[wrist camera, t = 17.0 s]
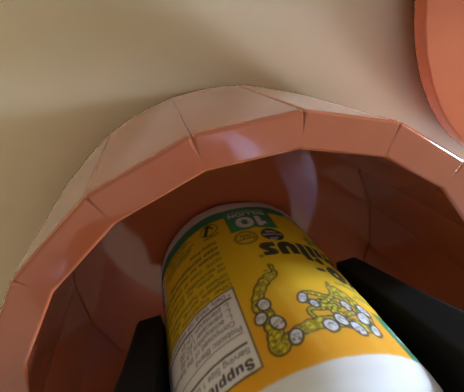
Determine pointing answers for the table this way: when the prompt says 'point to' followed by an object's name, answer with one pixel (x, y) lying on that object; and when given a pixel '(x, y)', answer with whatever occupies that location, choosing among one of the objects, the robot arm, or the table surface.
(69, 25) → the table surface
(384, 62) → the table surface
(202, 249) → the supplement bottle
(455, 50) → the lid
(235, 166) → the crock
